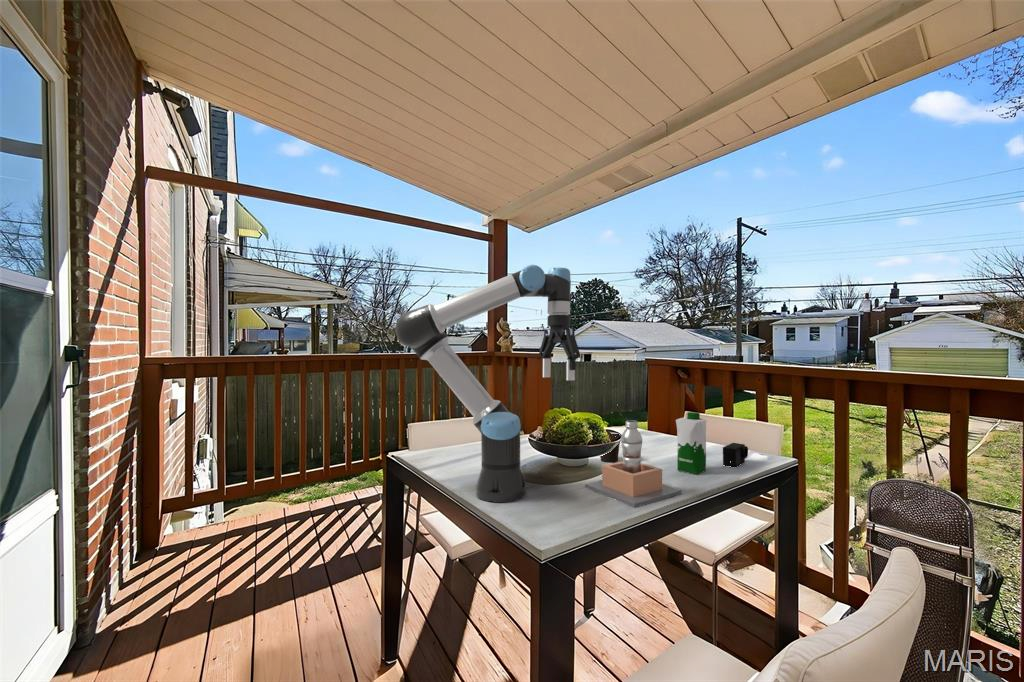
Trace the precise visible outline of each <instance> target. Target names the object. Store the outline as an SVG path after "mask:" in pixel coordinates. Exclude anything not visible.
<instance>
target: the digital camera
mask: <svg viewBox="0 0 1024 682" xmlns="http://www.w3.org/2000/svg"><path fill="white" fill-rule="evenodd" d="M748 456H749V447H748V446H746V445H745V444H744V443H739V442H738V443H737V442H732V443H729V444H726V445H725V446H723V447H722V466H723V465H725V466H724V467H726V466H731V467H737V466H738V467H740V466H741V465H740V464H742V463H744V462H745V463H746V459H747V458H748ZM730 461H731V463H730ZM745 463H744V464H745ZM739 465H740V466H739ZM742 465H743V464H742ZM731 467H730V468H731ZM738 467H737V468H738Z"/></svg>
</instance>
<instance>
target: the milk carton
mask: <svg viewBox="0 0 1024 682" xmlns="http://www.w3.org/2000/svg"><path fill="white" fill-rule="evenodd" d="M686 413H687V414H686V415H687V416H686V417H680V418H679V417H678V418H677V419H675V425H676V431H677V433H676V437H677V439H676V440H677V441H676V443H677V445H676V447H677V450H676V451H677V452H676V453H677V462H676V463H677V464H676V465H677V467H676V468H677V469H676V471H677V470H681V471H680V472H682V471H685V472H684V473H686V472H689V473H688V474H691V473H693V474H692V475H696V474H697V475H699V473H700V474H702V473H704V472H706V470H707V468H706V467H707V440H706V439H707V437H706V436H707V433H706V432H707V419H704V418H700V417H701V415H700V412H694V411H693V412H692V411H691V412H690V411H689V412H686ZM703 471H704V472H703ZM701 472H702V473H701Z"/></svg>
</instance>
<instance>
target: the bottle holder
mask: <svg viewBox="0 0 1024 682" xmlns="http://www.w3.org/2000/svg"><path fill="white" fill-rule="evenodd" d="M622 465H623V460H622V461H618V462H615V463H607V464H604V465H601V479H600V480H596V481H592V482H588V483H584V488H586V489H588V490H590V491H593V492H596V493H598V494H600V493H601V495H603V496H605V495H606V497H607V498H610V499H613V500H615V499H616V501H617V500H618V502H620V501H621V503H622V502H623V503H622V504H625V503H626V504H625V505H627V504H628V505H627V506H630V507H632V508H636V507H640V505H641V506H643V504H644V505H648V504H650V502H651V503H654V502H653V501H655V502H658V501H661V500H664V499H669V498H671V497H675V496H678V495H679V496H680V495H681V494H682V489H679V488H675V487H673V486H669V485H668V484H663V468H661V467H657V466H653V465H650V464H647V463H643V462H641V472H638V473H633V474H632V473H629V472H626V471H623V470H622ZM647 503H648V504H647Z"/></svg>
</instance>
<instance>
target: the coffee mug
mask: <svg viewBox="0 0 1024 682" xmlns="http://www.w3.org/2000/svg"><path fill="white" fill-rule="evenodd" d="M609 432H610V433H611V434H619V435H620V436H621V434H620V433H617V432H611V431H609ZM615 437H616V436H615ZM620 444H621V441H620V442H619V444H618V445H617V446H616V447H615V448H614V449H613V450H612V451H611V452H609V453H607V454H605V455H603V456H600V455H599V457H600V462H603V463H607V464H612V463H617V461H618V462H619V453H620V452H619V451H620Z"/></svg>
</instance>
